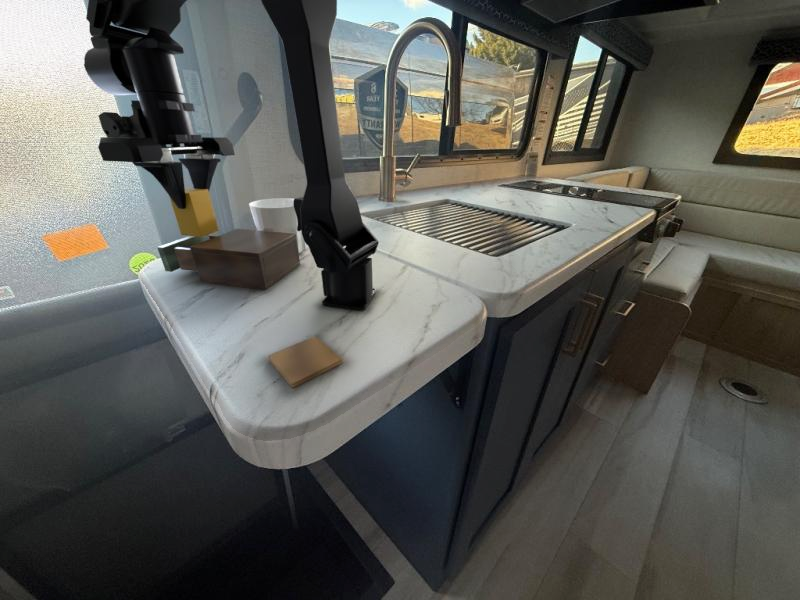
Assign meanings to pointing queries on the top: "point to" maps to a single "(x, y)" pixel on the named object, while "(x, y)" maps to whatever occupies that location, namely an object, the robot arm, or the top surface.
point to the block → (196, 214)
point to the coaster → (304, 361)
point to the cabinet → (246, 258)
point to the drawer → (181, 253)
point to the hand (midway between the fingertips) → (193, 206)
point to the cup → (277, 217)
